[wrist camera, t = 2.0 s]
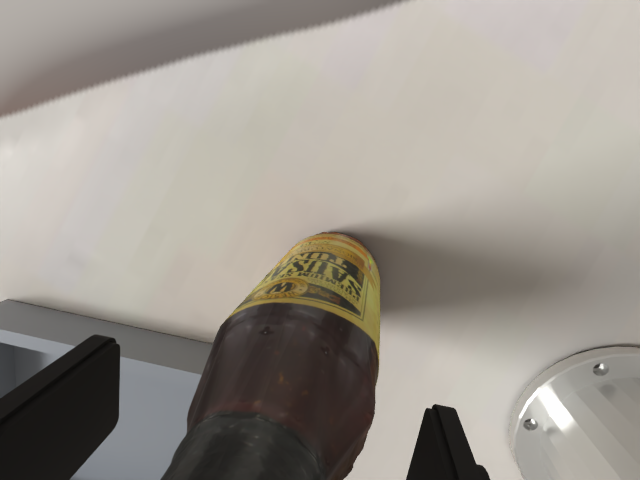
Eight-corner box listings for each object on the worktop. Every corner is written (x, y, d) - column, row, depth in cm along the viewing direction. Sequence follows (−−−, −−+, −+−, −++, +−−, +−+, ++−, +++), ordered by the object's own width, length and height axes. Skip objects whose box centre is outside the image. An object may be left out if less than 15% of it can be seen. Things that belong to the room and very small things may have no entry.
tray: (285, 360, 26) (273, 390, 22) (259, 530, 30) (245, 578, 26) (7, 299, 28) (-43, 319, 24) (16, 466, 32) (-26, 504, 28)
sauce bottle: (373, 221, 23) (403, 572, 4) (384, 313, 24) (452, 931, 5) (273, 234, 24) (-116, 562, 5) (289, 321, 25) (37, 861, 6)
